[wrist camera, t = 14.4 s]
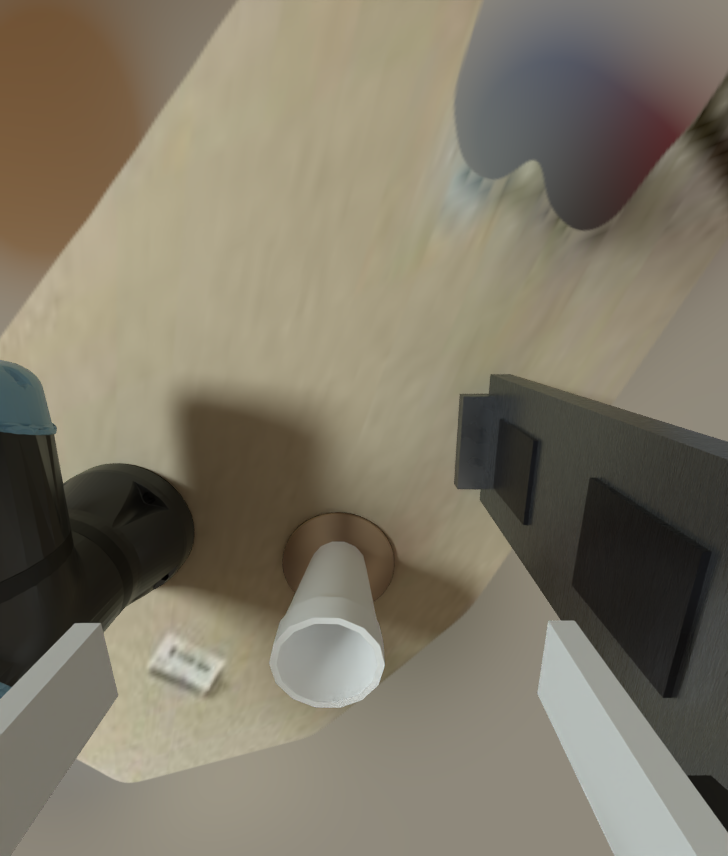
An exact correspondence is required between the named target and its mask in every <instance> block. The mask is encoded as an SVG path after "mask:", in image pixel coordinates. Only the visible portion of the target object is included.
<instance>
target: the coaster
mask: <svg viewBox="0 0 728 856" xmlns="http://www.w3.org/2000/svg"><path fill="white" fill-rule="evenodd" d="M330 542H346V543H348V544H351V545H353V546H355V547H356V548H357V549H358V550H359V551H360V552H361V553H362V555H363V557H364V561H365V565H366V569H367V574H368V579H369V584H370V589H371V594H372V599H373V602H374V601H375V600H376V599H378V598H379V597H380V596H381V595H382V594H383V593H384V591H385V590H386V589H387V587H388V586H389V584H390V582H391V579H392V576H393V572H394V555H393V551H392V547H391V545H390V543H389V541H388V539H387V537H386V536H385V534H384V533H383V532H382V531H381V530H380V529H379V528H378V527H377V526H376V525H374V524H373V523H372V522H370V521H368V520H367V519H365V518H362V517H360V516H357V515H354V514H349V513H341V512H335V513H326V514H322V515H318V516H315V517H313V518H311V519H309V520H307V521H306V522H304V523H303V524H301V525H300V526H299V527H298V528H297V529H296V530H295V531H294V532H293V534H292V535H291V537H290V538H289V540H288V542H287V544H286V547H285V550H284V554H283V571H284V575H285V578H286V580H287V582H288V584H289V586H290V587H291V589H292V590H293V591H294V592H295V593H296V591H297V589H298V587H299V584H300V582H301V580H302V578H303V576H304V574H305V571H306V569H307V567H308V565H309V563H310V561H311V558H312V557H313V555H314V553H315V552H316V551H317V550H318V549H319V548H320V547H321V546H322V545H325V544H327V543H330Z"/></svg>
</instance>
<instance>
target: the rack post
mask: <svg viewBox="0 0 728 856" xmlns="http://www.w3.org/2000/svg"><path fill="white" fill-rule="evenodd" d="M454 484H455V486H456V487H457V489H481V492H480V501H481V502H482V504H483V505H484V507H485V508H486V510H487V511H488V513H489V514H490V516H491V517H492V519H493V520H494V522H495V523H496V525H497V526H498V527H499V529H500V530H501V532H502V533H503V535H504V536H505V538H506V539H507V541H508V542H509V544H510V545H511V547H512V548H513V550H514V551H515V553H516V554H517V556H518V557H519V559H520V560H521V561H522V563H523V565H524V566H525V568H526V569H527V570H528V572H529V574H530V575H531V576H532V578H533V579H534V581H535V582H536V584H537V585H538V587H539V588H540V590H541V591H542V593H543V594H544V596H545V597H546V599H547V600H548V602H549V603H550V605H551V606H552V608H553V609H554V611H555V612H556V613H557V615H558V617H559V618H560V620H561V621H575V622H576V623H577V625H578V626H579V627H580V629H581V630H582V631H583V633H584V634H585V636H586V637H587V638H588V640H589V641H590V643H591V644H592V645H593V647H594V648H595V649H596V651H597V652H598V654H599V655H600V656H601V658H602V659H603V661H604V662H605V663H606V665H607V666H608V667H609V669H610V670H611V672H612V673H613V674H614V676H615V677H616V679H617V680H618V681H619V683H620V684H621V685H622V687H623V688H624V690H625V691H626V692H627V694H628V695H629V697H630V698H631V699H632V701H633V702H634V703H635V705H636V706H637V708H638V709H639V710H640V712H641V713H642V715H643V716H644V717H645V719H646V720H647V721H648V723H649V724H650V726H651V727H652V728H653V730H654V731H655V733H656V734H657V735H658V737H659V738H660V739H661V741H662V742H663V744H664V745H665V746H666V748H667V749H668V751H669V752H670V753H671V755H672V756H673V757H674V759H675V760H676V762H677V763H678V764H679V766H680V767H681V769H682V770H683V771H684V773H685V774H686V775H711V776H712V777H713V778H715V779H716V780H717V781H718V782H719V783H720V784H721V785H722V786H723V787H725V788H726V789H727V790H728V442H727V441H723V440H720V439H717V438H714V437H710V436H707V435H704V434H701V433H698V432H694V431H691V430H687V429H685V428H681V427H678V426H675V425H672V424H669V423H665V422H662V421H659V420H655V419H652V418H649V417H646V416H643V415H640V414H636V413H633V412H630V411H626V410H623V409H620V408H617V407H614V406H611V405H607V404H604V403H601V402H598V401H594V400H591V399H588V398H585V397H581V396H578V395H575V394H572V393H569V392H565V391H562V390H559V389H556V388H552V387H549V386H546V385H543V384H540V383H536V382H533V381H530V380H527V379H523V378H520V377H517V376H514V375H511V374H491V376H490V388H489V394H460V401H459V416H458V432H457V447H456V463H455V478H454Z"/></svg>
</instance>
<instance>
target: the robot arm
mask: <svg viewBox="0 0 728 856" xmlns="http://www.w3.org/2000/svg"><path fill="white" fill-rule="evenodd" d="M56 431H57V427H56V425H54V424H53V423H52V422H51V418H50V414H49V410H48V406H47V402H46V398H45V394H44V390H43V387H42V384H41V382H40V381H39V379H38V378H37V377H36V376H35V375H34V374H33V373H32V372H31V371H29V370H28V369H26V368H24V367H22V366H20V365H18V364H15V363H12V362H8V361H3V360H0V856H11V854H12V853H13V851H14V850H15V848H16V847H17V845H18V844H19V842H20V841H21V840H22V838H23V837H24V835H25V834H26V832H27V830H28V829H29V827H30V826H31V825H32V823H33V822H34V820H35V819H36V817H37V816H38V814H39V813H40V811H41V810H42V808H43V807H44V805H45V804H46V802H47V801H48V799H49V798H50V796H51V795H52V793H53V792H54V790H55V789H56V787H57V786H58V784H59V783H60V781H61V780H62V778H63V777H64V776H65V774H66V773H67V771H68V770H69V768H70V766H71V765H72V764H73V762H74V761H75V759H76V758H77V756H78V755H79V753H80V752H81V750H82V749H83V747H84V746H85V744H86V743H87V741H88V740H89V738H90V737H91V735H92V734H93V732H94V731H95V729H96V728H97V726H98V725H99V723H100V722H101V720H102V719H103V717H104V716H105V714H106V713H107V712H108V710H109V709H110V707H111V706H112V704H113V703H114V701H115V700H116V698H117V697H118V693H117V688H116V684H115V680H114V676H113V672H112V667H111V663H110V659H109V655H108V650H107V646H106V642H105V638H104V634H103V633H104V631H105V630H106V629H107V628H108V627H109V626H110V624H111V623H112V622H113V621H114V620H115V618H116V617H117V616H118V615H119V614H120V613H121V611H122V610H123V609H124V608H125V607H126V606H128V605H129V604H131V603H133V602H134V601H136V600H138V599H139V598H141V597H143V596H144V595H146V594H148V593H149V592H151V591H152V590H154V589H156V588H158V587H159V586H161V585H162V584H164V583H165V582H167V581H168V580H169V579H170V578H171V577H172V576H173V575H174V574H175V573H176V572H177V571H178V569H179V568H180V567H181V565H182V564H183V563H184V562H185V560H186V559H187V557H188V555H189V553H190V551H191V548H192V545H193V540H194V525H193V520H192V516H191V514H190V511H189V509H188V507H187V505H186V503H185V501H184V500H183V498H182V497H181V496H180V494H179V493H178V492H177V491H176V490H175V489H174V488H173V487H172V486H171V485H170V484H169V483H168V482H166V481H165V480H164V479H162V478H161V477H159V476H158V475H156V474H154V473H152V472H150V471H148V470H146V469H143V468H140V467H137V466H133V465H128V464H104V465H99V466H96V467H93V468H90V469H88V470H86V471H84V472H82V473H80V474H78V475H76V476H74V477H72V478H71V479H69V480H68V481H66V482H65V483H63V481H62V475H61V470H60V464H59V459H58V454H57V448H56V443H55V437H54V434H56ZM538 696H539V698H540V700H541V702H542V704H543V707H544V708H545V711H546V712H547V715H548V717H549V719H550V721H551V723H552V725H553V728H554V729H555V732H556V734H557V736H558V738H559V740H560V742H561V744H562V747H563V748H564V751H565V753H566V755H567V757H568V759H569V761H570V763H571V765H572V768H573V770H574V772H575V774H576V776H577V778H578V780H579V782H580V784H581V786H582V789H583V790H584V793H585V795H586V797H587V799H588V801H589V803H590V805H591V807H592V810H593V812H594V814H595V816H596V818H597V820H598V822H599V824H600V826H601V828H602V831H603V833H604V835H605V837H606V839H607V841H608V843H609V845H610V848H611V849H612V852H613V854H614V856H728V790H727V789H726V788H725V787H723V786H722V785H721V784H720V783H719V782H718V781H717V780H716V779H715V778H713V777H712V776H711V775H686V774H685V773H684V771H683V770H682V769H681V767H680V766H679V764H678V763H677V762H676V760H675V759H674V757H673V756H672V755H671V753H670V752H669V751H668V749H667V748H666V746H665V745H664V744H663V742H662V741H661V739H660V738H659V737H658V735H657V734H656V733H655V731H654V730H653V728H652V727H651V726H650V724H649V723H648V721H647V720H646V719H645V717H644V716H643V715H642V713H641V712H640V710H639V709H638V708H637V706H636V705H635V703H634V702H633V701H632V699H631V698H630V697H629V695H628V694H627V692H626V691H625V690H624V688H623V687H622V685H621V684H620V683H619V681H618V680H617V679H616V677H615V676H614V674H613V673H612V672H611V670H610V669H609V667H608V666H607V665H606V663H605V662H604V661H603V659H602V658H601V656H600V655H599V654H598V652H597V651H596V649H595V648H594V647H593V645H592V644H591V643H590V641H589V640H588V638H587V637H586V636H585V634H584V633H583V631H582V630H581V629H580V627H579V626H578V625H577V623H576V622H575V621H548V627H547V634H546V640H545V647H544V654H543V660H542V667H541V673H540V680H539V686H538Z"/></svg>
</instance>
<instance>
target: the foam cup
mask: <svg viewBox="0 0 728 856" xmlns="http://www.w3.org/2000/svg"><path fill="white" fill-rule="evenodd" d="M269 665H270V668H271V670H272V673H273V676H274V679H275V682H276V684H277V685H278V686H279V687H281V688H282V689H283V690H284V691H285V692H286V693H287V694H288V695H289V696H290V697H291V698H292V699H295V700H297V701H300V702H302V703H305V704H308V705H310V706H313V707H324V708H341V707H343V706H346V705H349V704H352V703H355V702H358V701H361V700H363V699H364V698H365V697H366V696H367V695H368V694H369V693H370V692H371V691H373V690H374V689H375V688H376V687H377V686H378V685H379V682H380V679H381V676H382V673H383V670H384V667H385V659H384V642H383V638H382V633H381V629H380V625H379V622H378V621H377V618H376V614H375V609H374V604H373V599H372V594H371V589H370V584H369V579H368V574H367V569H366V565H365V561H364V557H363V555H362V553H361V552H360V551H359V550H358V549H357V548H356V547H355V546H353V545H351V544H348V543H346V542H330V543H327V544H325V545H322V546H321V547H320V548H319V549H318V550H317V551H316V552H315V553H314V555H313V557H312V558H311V561H310V563H309V565H308V567H307V569H306V571H305V574H304V576H303V578H302V580H301V582H300V584H299V587H298V589H297V591H296V593H295V595H294V597H293V599H292V602H291V604H290V606H289V608H288V610H287V612H286V615H285V616H284V617H283V618H282V619H281V620H280V623H279V627H278V630H277V633H276V637H275V640H274V644H273V648H272V653H271V657H270V661H269Z"/></svg>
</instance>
